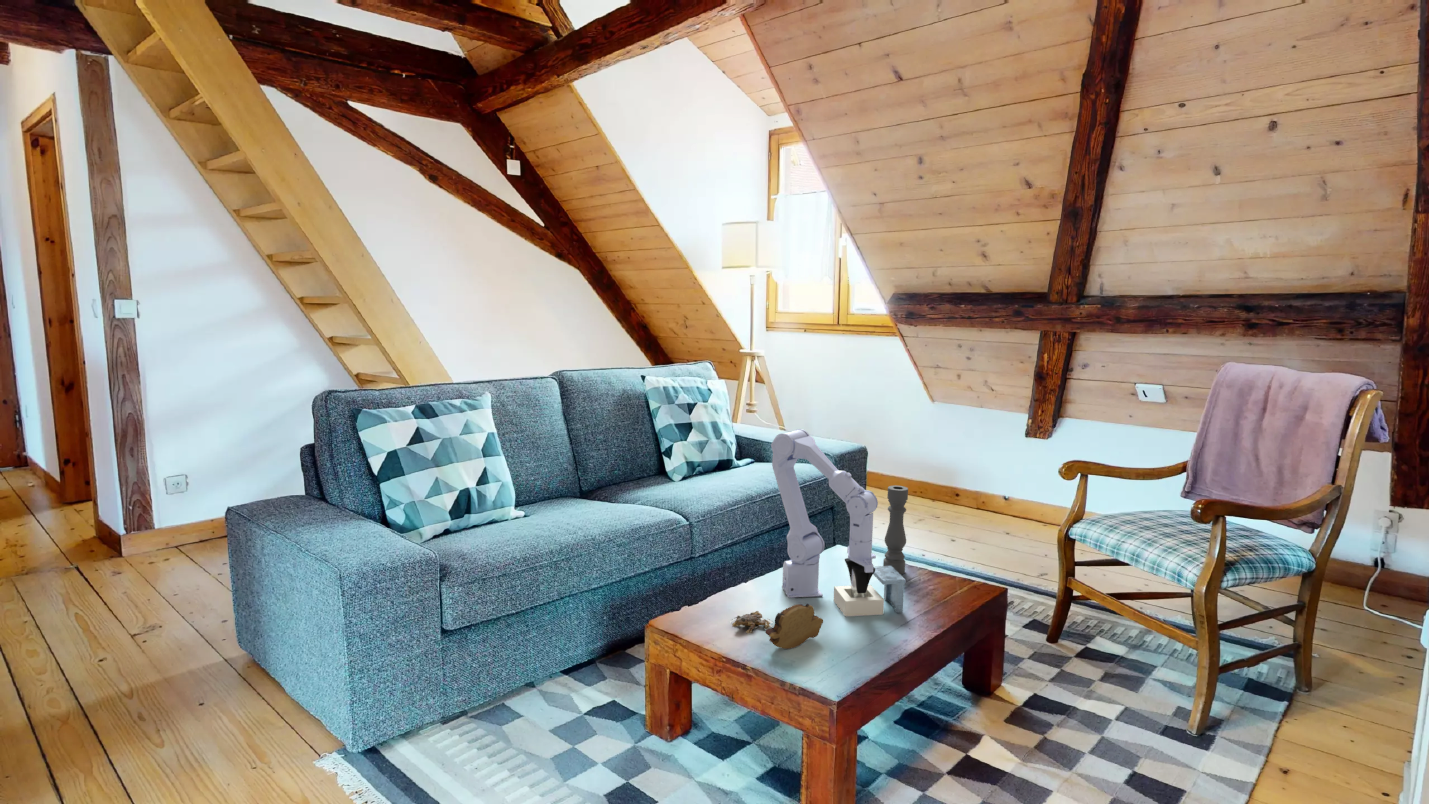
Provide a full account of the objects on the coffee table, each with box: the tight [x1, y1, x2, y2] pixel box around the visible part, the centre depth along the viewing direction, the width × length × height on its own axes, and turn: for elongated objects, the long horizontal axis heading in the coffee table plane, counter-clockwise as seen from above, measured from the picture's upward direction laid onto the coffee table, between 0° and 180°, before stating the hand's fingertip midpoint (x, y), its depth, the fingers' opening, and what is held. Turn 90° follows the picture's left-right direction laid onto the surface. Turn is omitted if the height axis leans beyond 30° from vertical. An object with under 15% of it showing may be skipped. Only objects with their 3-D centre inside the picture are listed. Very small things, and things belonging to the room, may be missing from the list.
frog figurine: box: [729, 610, 774, 635], centre depth 197 cm, size 12×12×4 cm
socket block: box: [833, 584, 885, 617], centre depth 209 cm, size 10×10×4 cm
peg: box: [850, 569, 867, 598], centre depth 208 cm, size 4×4×8 cm
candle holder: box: [882, 485, 909, 576], centre depth 233 cm, size 6×6×25 cm
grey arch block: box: [872, 565, 907, 614], centre depth 209 cm, size 6×10×9 cm, turn 9°
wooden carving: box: [764, 603, 824, 650], centre depth 186 cm, size 16×5×10 cm, turn 131°
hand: (858, 589), depth 208 cm, fingers closed on peg, 4 cm apart
